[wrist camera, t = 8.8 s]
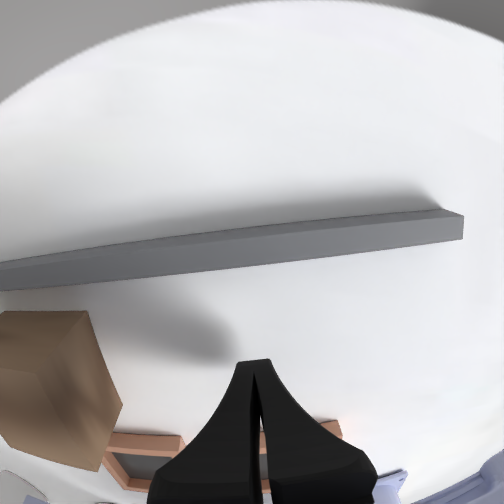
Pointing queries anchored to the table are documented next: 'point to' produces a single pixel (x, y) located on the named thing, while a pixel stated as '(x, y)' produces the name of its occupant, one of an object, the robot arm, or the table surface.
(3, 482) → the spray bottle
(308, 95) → the table surface
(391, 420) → the table surface
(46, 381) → the walnut block
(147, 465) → the trap pits
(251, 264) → the hook tool
